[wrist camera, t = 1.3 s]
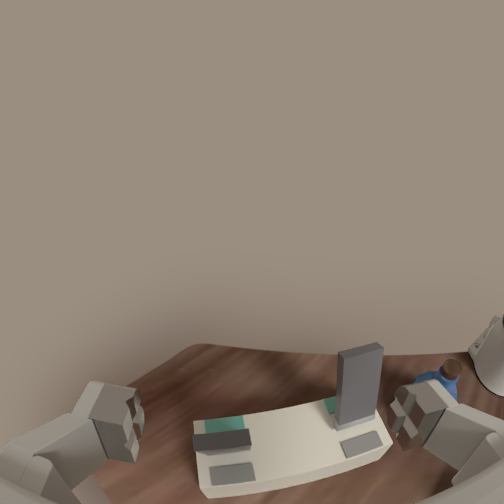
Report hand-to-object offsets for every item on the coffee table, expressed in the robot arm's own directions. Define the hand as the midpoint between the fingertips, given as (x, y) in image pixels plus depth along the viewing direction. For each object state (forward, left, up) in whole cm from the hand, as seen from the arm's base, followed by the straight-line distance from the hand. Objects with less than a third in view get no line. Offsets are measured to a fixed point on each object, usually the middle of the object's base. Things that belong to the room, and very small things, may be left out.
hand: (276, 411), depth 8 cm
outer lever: (-2, -11, -26) cm, 28 cm away
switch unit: (-9, -7, -33) cm, 35 cm away
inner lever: (-16, -4, -26) cm, 31 cm away
